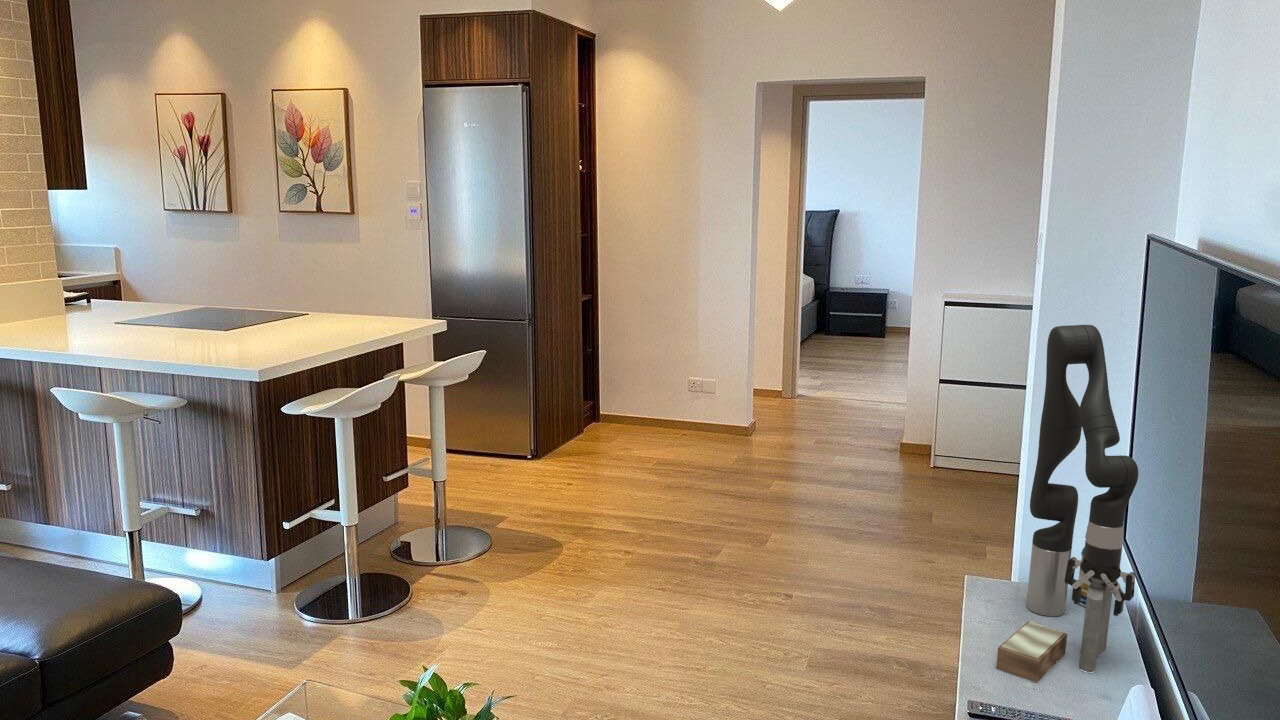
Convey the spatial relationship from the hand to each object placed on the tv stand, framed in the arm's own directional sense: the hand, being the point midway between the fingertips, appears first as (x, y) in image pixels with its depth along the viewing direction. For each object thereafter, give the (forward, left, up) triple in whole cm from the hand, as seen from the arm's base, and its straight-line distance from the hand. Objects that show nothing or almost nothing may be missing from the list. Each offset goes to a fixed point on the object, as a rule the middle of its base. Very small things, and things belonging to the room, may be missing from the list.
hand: (1096, 608), depth 218 cm
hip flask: (0, 0, -12) cm, 12 cm away
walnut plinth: (+11, -10, -12) cm, 19 cm away
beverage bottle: (-31, -9, -12) cm, 35 cm away
